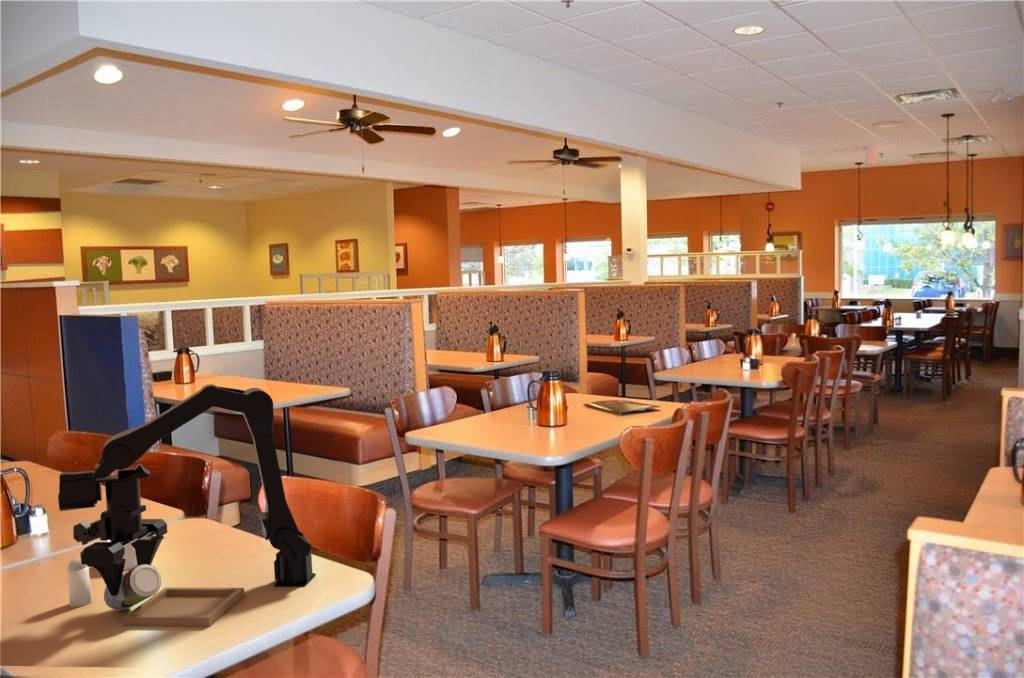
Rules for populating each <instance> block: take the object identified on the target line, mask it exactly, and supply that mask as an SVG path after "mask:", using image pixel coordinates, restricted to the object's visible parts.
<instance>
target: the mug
mask: <svg viewBox="0 0 1024 678" xmlns="http://www.w3.org/2000/svg"><path fill="white" fill-rule="evenodd" d="M105 542H111V541H110V540H107V541H105ZM124 548H125V554H124V556H123V559H126V561H125V565H124V570H123V571H129V570H131V569H133V568H134V567H136V566H138V565H137V559H136V553H135V549H134V548H133V546H132V545H131V544H129V545H127V546H126V547H124Z"/></svg>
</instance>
